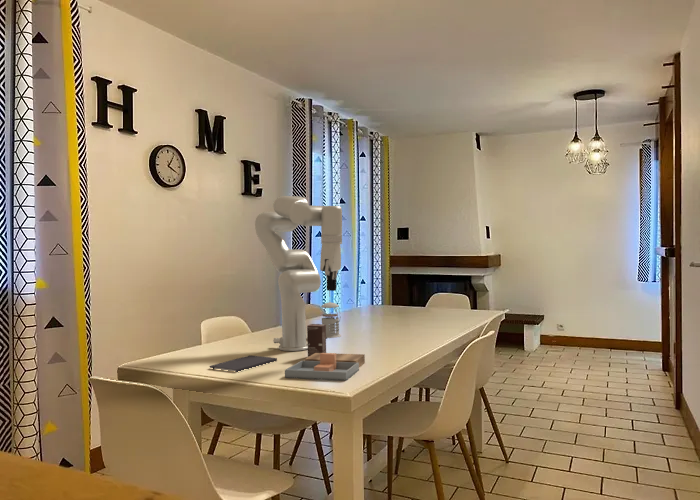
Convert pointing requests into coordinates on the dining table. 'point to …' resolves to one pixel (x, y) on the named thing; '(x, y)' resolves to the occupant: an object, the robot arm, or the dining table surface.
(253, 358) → the notebook
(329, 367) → the tile
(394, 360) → the dining table surface
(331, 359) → the tile
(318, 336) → the box
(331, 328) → the french press
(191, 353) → the dining table surface
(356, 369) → the tray
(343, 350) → the dining table surface
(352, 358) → the brown slab
